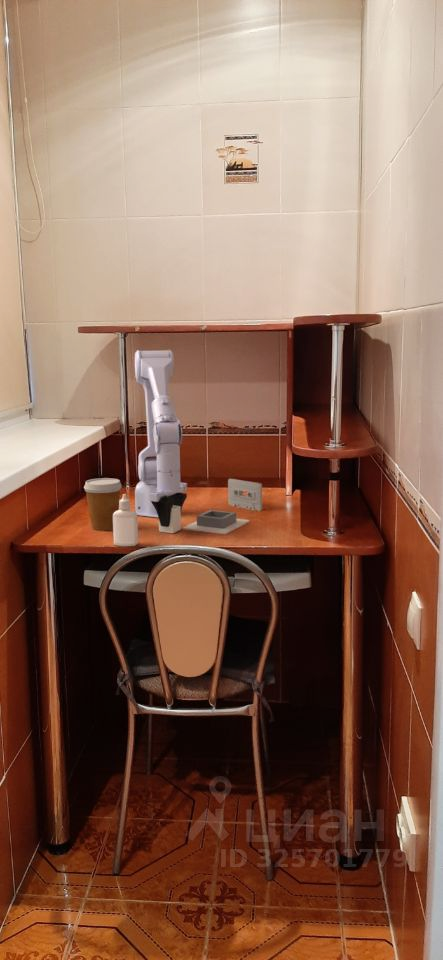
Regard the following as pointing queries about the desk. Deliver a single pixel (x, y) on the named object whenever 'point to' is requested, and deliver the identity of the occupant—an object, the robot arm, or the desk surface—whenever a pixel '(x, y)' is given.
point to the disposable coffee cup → (102, 501)
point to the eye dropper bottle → (125, 524)
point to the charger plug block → (173, 521)
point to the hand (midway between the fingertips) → (169, 524)
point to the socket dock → (216, 522)
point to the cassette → (245, 501)
